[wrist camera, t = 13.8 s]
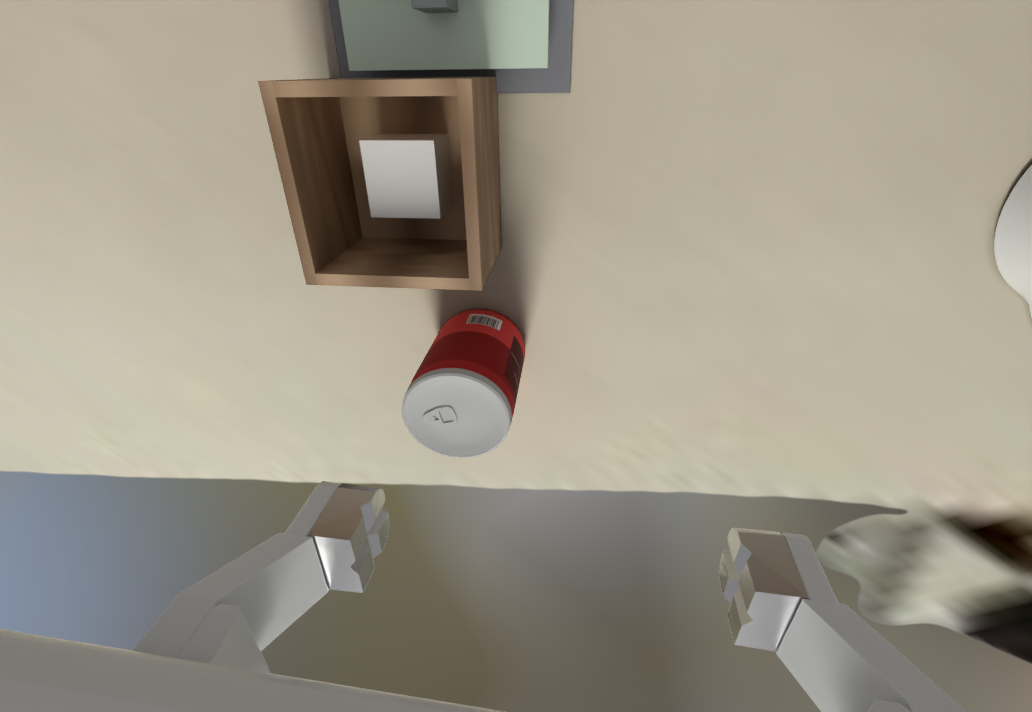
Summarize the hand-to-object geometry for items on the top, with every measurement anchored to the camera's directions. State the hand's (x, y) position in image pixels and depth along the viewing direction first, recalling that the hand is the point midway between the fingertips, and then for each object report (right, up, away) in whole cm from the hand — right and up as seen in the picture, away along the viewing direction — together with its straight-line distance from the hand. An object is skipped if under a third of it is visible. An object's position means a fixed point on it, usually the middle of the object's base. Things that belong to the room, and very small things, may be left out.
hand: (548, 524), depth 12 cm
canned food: (-4, +5, +33) cm, 34 cm away
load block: (-8, +18, +25) cm, 32 cm away
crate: (-8, +18, +26) cm, 33 cm away
